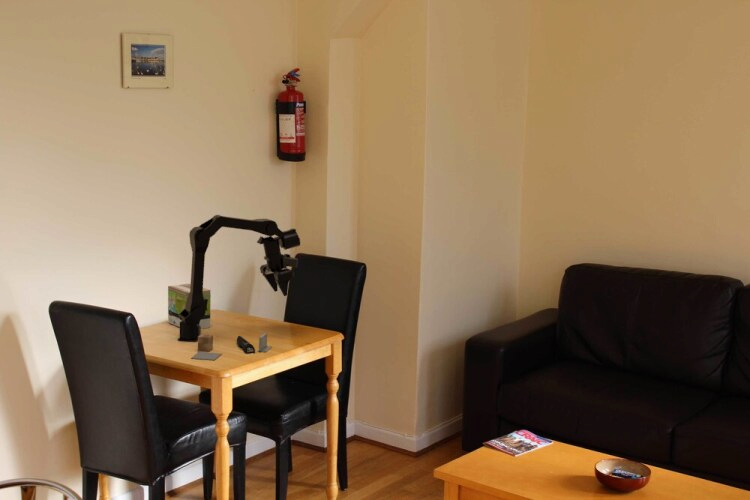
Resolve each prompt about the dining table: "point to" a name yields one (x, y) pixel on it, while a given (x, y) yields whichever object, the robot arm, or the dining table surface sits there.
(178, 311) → the tea box
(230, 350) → the dining table surface
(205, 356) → the pad
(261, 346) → the gray angled bracket
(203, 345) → the walnut block
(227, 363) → the dining table surface
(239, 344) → the electric trimmer
